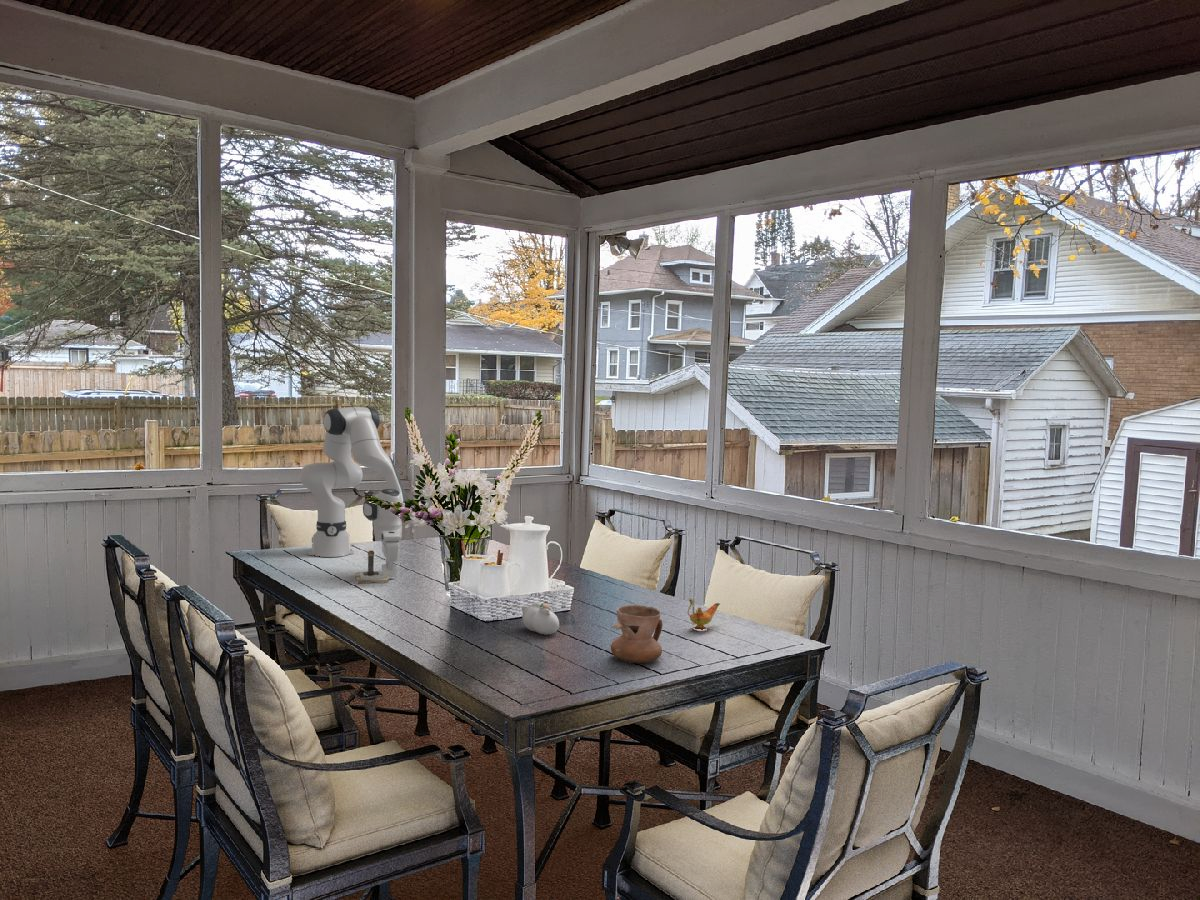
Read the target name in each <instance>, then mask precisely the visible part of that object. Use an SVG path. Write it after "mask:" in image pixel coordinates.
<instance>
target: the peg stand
mask: <svg viewBox="0 0 1200 900" xmlns="http://www.w3.org/2000/svg"><path fill="white" fill-rule="evenodd" d="M374 561H375V551H374V550H369V551H368V552H367V571H368V575H373V572H374V571H375V569H374V568H375V567H374V566H375V565H374V563H375V562H374ZM354 573H355V574H354V575H355V579H356V582H358V583H360V584H369V583H368V582H384V583H389V577H383V579H376V580H361V579H360V576H359V572H354ZM366 582H367V583H366ZM358 583H357V584H358Z"/></svg>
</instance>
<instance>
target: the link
mask: <svg viewBox="0 0 1200 900" xmlns="http://www.w3.org/2000/svg"><path fill="white" fill-rule="evenodd" d="M387 566H388V564H386V563H385V564H381V570H374V572H373V575H368V570H366V571H359V572H358V573H359V576H360V579H361V580H376V579H383V577H387V578H396V577H397V564H395V563H393V570H392V571H388V569H387Z"/></svg>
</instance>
